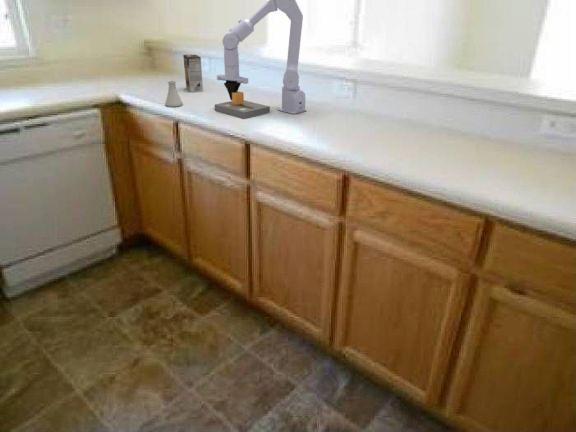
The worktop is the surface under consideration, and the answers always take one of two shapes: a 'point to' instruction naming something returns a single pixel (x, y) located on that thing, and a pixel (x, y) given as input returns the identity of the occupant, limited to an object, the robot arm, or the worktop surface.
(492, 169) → the worktop surface
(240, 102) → the block
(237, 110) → the breaker panel
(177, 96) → the flask
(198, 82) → the coffee box
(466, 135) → the worktop surface
